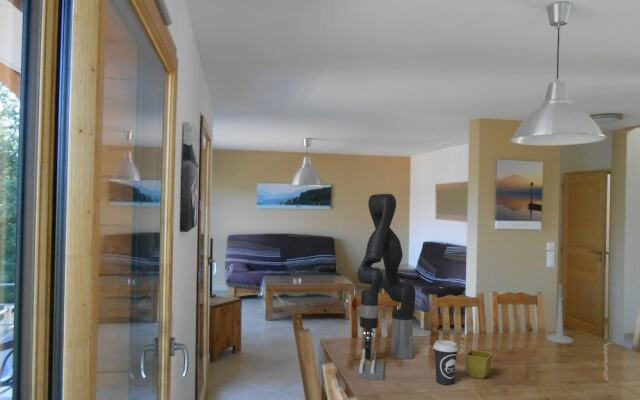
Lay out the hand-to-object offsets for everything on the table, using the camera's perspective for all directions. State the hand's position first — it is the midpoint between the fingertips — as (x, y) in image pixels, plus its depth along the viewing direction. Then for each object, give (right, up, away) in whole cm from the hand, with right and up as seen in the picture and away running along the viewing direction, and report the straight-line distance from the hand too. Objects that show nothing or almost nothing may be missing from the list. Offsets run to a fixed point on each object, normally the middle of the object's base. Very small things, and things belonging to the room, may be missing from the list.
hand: (368, 357), depth 198 cm
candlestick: (+106, -9, +55) cm, 120 cm away
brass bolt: (0, -3, +2) cm, 4 cm away
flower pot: (+43, -6, -6) cm, 44 cm away
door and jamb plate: (+1, -5, -2) cm, 5 cm away
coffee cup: (+28, -5, -14) cm, 32 cm away
